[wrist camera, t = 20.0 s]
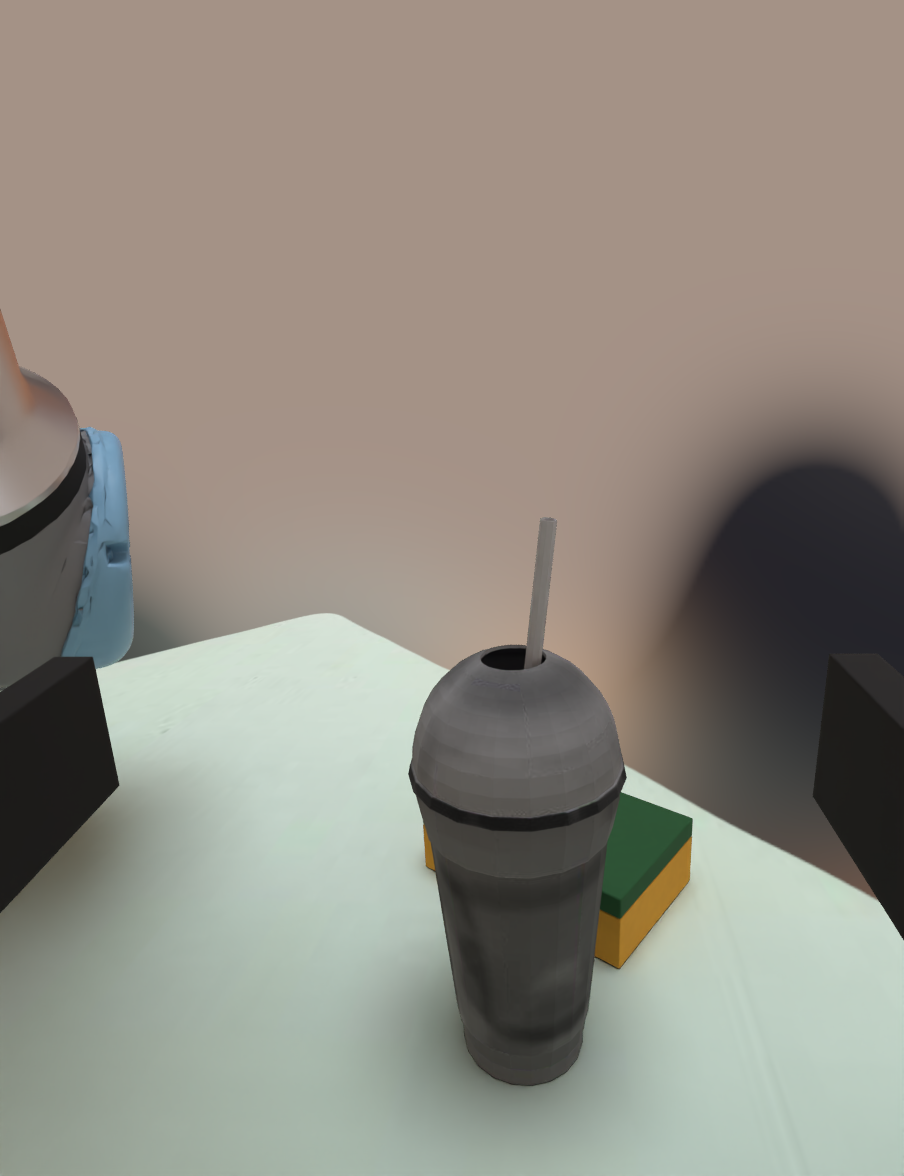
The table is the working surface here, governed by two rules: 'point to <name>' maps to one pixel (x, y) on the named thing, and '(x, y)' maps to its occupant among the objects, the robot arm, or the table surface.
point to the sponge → (635, 874)
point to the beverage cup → (520, 840)
